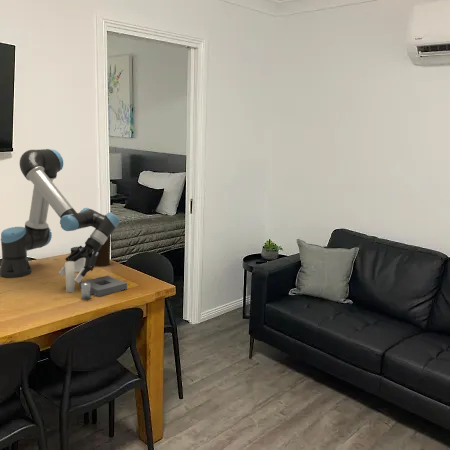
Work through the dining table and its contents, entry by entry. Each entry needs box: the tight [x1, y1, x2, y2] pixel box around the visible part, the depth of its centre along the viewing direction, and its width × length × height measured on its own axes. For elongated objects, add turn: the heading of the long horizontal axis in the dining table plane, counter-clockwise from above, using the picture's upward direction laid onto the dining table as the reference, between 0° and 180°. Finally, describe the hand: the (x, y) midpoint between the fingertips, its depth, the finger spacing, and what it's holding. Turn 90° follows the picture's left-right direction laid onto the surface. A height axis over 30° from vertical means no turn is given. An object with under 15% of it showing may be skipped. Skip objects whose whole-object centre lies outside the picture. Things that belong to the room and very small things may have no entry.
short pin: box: [80, 282, 92, 301], centre depth 214 cm, size 4×4×7 cm
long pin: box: [64, 261, 76, 293], centre depth 222 cm, size 4×4×14 cm
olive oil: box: [94, 235, 111, 267], centre depth 266 cm, size 11×11×25 cm
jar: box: [69, 246, 86, 273], centre depth 255 cm, size 9×8×12 cm
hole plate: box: [78, 275, 128, 298], centre depth 228 cm, size 16×16×3 cm
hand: (68, 278), depth 221 cm, fingers open, 13 cm apart
